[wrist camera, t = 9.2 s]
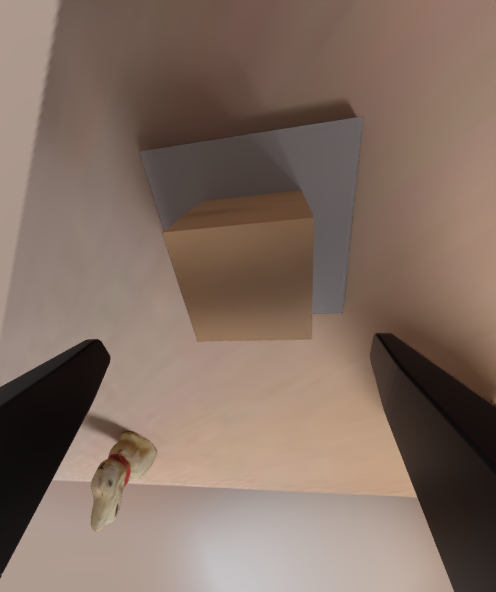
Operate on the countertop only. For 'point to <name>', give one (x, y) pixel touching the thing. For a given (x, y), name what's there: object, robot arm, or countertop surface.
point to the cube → (246, 267)
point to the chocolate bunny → (119, 475)
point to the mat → (272, 185)
